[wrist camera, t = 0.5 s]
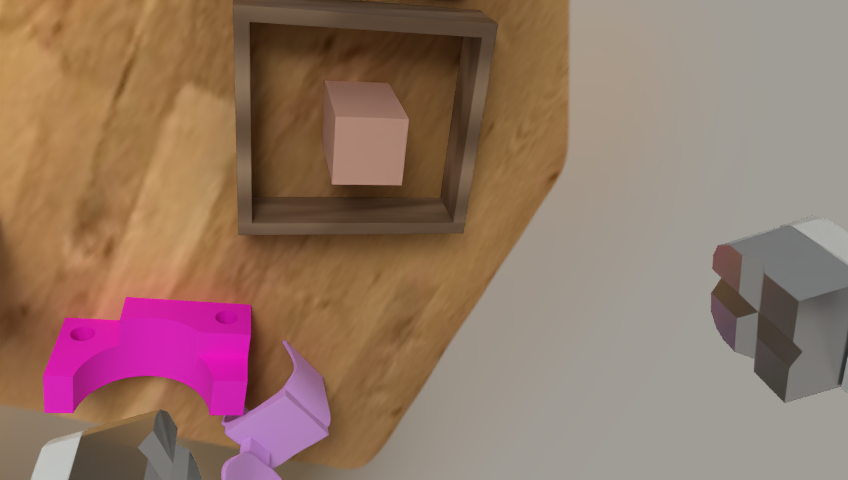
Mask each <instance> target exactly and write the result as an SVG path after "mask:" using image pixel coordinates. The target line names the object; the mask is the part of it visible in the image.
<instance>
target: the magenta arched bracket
mask: <svg viewBox="0 0 848 480" xmlns="http://www.w3.org/2000/svg"><path fill="white" fill-rule="evenodd" d="M250 338H251V305H245V304H229V303H213V302H197V301H180V300H164V299H148V298H132V297H126V299H125V303H124V307H123V310H122V314H121V318H120V320H100V319H81V318H65V320H64V323H63V326H62V328H61V331H60V333H59V336H58V339H57V341H56V344H55V346H54V349H53V352H52V354H51V357H50V359H49V362H48V365H47V367H46V370H45V372H44V375H43V385H44V409H45V413H74V411H75V409H76V408H77V406H78V405H79V404H80V402H81V401H82V400H83V399H84V398H85V397H87V396H88V395H89V394H90V393H92V392H93V391H95V390H96V389H98V388H100V387H102V386H104V385H106V384H108V383H111V382H113V381H116V380H120V379H124V378H129V377H135V376H159V377H166V378H170V379H174V380H177V381H180V382H182V383H184V384H186V385H188V386H190V387H191V388H193V389H194V390H196V391H197V392H198V393H199V394H200V395H201V396H202V397H203V399H204V400H205V402H206V404H207V406H208V409H209V414H210V415H243V410H244V403H245V396H246V389H247V382H248V352H249V345H250Z"/></svg>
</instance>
